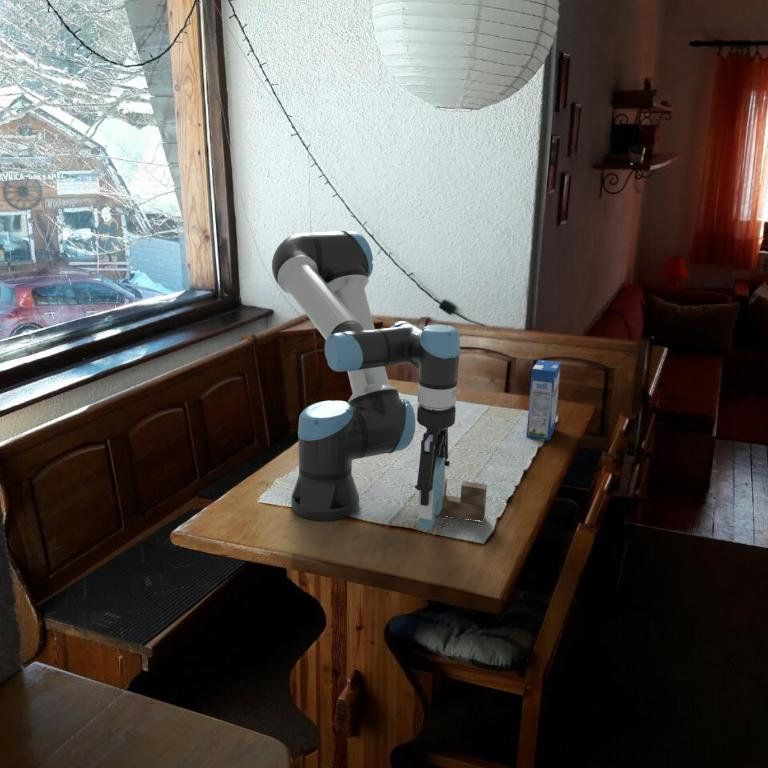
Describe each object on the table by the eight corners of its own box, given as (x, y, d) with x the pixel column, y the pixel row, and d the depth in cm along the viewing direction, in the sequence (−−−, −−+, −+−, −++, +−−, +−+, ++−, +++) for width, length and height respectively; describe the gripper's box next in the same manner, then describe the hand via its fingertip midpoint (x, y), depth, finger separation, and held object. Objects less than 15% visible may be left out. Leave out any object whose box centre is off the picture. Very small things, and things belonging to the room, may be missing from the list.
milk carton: (548, 440, 221) (555, 371, 215) (526, 437, 223) (532, 368, 217) (554, 429, 230) (561, 362, 224) (533, 425, 232) (538, 359, 226)
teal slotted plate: (430, 530, 160) (433, 475, 157) (418, 528, 161) (421, 473, 157) (441, 508, 170) (445, 456, 166) (430, 506, 170) (433, 454, 166)
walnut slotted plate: (420, 512, 178) (421, 479, 175) (422, 508, 180) (424, 475, 177) (482, 522, 174) (484, 489, 171) (484, 517, 176) (486, 484, 174)
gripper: (442, 426, 146) (436, 534, 153) (466, 389, 167) (460, 486, 174) (403, 421, 148) (398, 528, 155) (431, 384, 169) (426, 480, 176)
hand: (431, 506), depth 164 cm, fingers closed on teal slotted plate, 10 cm apart
